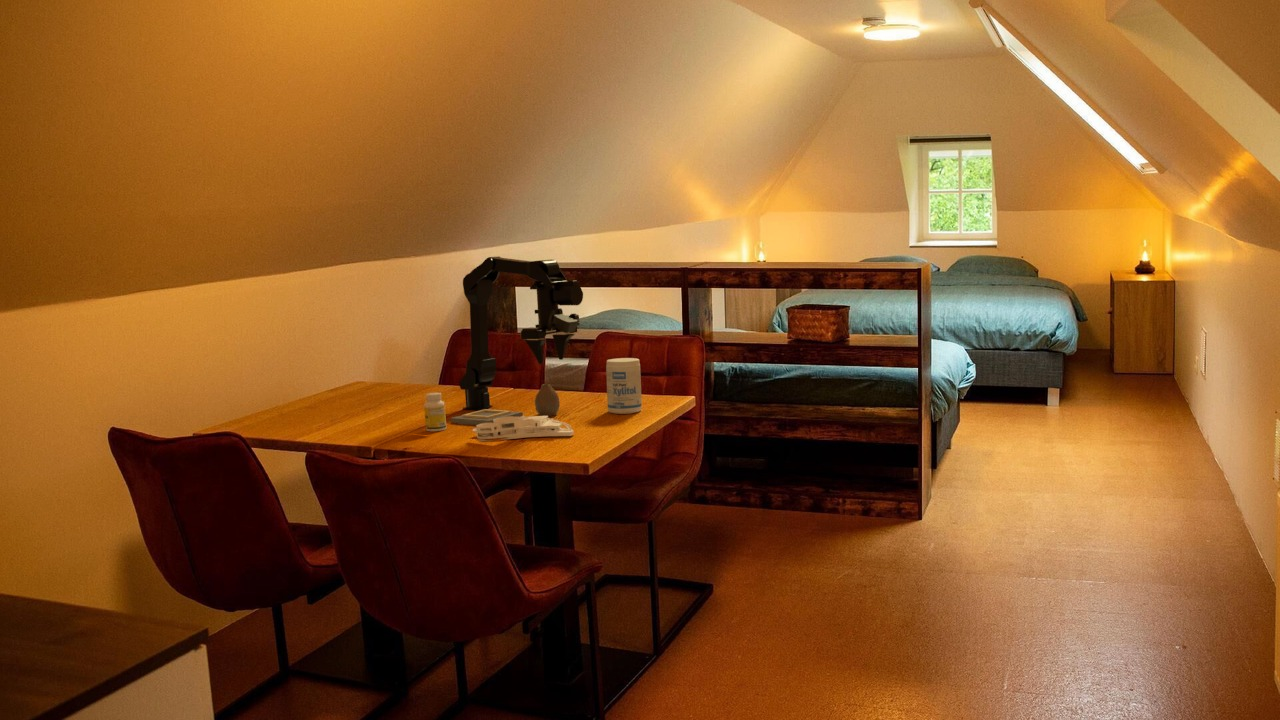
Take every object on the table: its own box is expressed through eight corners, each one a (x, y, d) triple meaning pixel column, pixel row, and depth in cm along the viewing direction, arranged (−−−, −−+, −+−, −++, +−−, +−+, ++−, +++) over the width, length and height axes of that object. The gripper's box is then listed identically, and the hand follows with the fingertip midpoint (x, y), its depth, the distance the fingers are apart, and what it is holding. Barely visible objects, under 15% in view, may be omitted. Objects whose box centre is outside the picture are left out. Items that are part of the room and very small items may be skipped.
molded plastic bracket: (565, 440, 276) (564, 423, 275) (469, 442, 280) (468, 424, 280) (585, 424, 298) (584, 407, 298) (496, 425, 302) (495, 409, 302)
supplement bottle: (427, 428, 299) (424, 392, 298) (447, 427, 300) (444, 391, 298) (424, 432, 294) (422, 395, 293) (445, 431, 294) (443, 394, 293)
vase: (556, 417, 307) (554, 386, 306) (532, 417, 308) (530, 386, 307) (563, 413, 314) (561, 382, 313) (539, 413, 315) (537, 383, 314)
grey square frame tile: (451, 423, 306) (450, 415, 305) (484, 414, 317) (484, 407, 317) (489, 426, 298) (489, 418, 298) (522, 417, 310) (522, 410, 309)
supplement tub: (614, 415, 305) (611, 362, 303) (603, 411, 314) (600, 359, 312) (647, 412, 308) (644, 359, 307) (635, 407, 317) (633, 356, 315)
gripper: (550, 308, 294) (553, 367, 296) (591, 302, 309) (594, 358, 311) (517, 308, 300) (521, 365, 302) (559, 302, 315) (562, 357, 317)
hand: (551, 361), depth 308 cm, fingers open, 9 cm apart
